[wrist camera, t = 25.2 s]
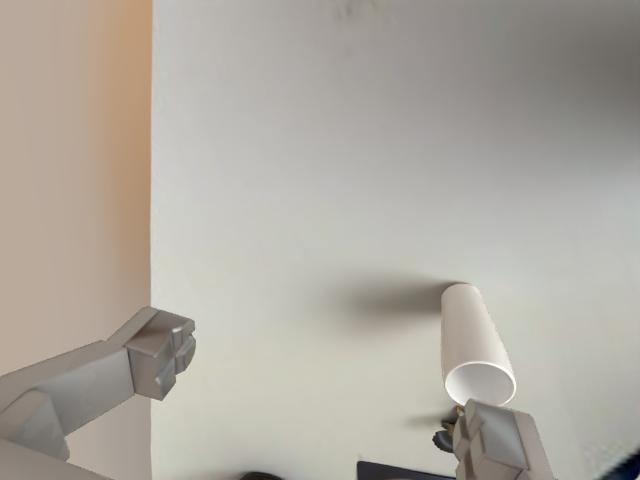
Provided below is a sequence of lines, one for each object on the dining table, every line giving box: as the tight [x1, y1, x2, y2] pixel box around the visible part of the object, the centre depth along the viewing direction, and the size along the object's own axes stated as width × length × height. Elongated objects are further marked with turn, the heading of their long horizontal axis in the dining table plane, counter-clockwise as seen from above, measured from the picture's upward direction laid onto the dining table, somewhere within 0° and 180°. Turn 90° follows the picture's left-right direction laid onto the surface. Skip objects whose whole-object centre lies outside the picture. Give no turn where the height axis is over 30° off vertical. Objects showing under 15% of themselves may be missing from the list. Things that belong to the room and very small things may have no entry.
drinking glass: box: [440, 283, 516, 406], centre depth 41 cm, size 7×7×15 cm
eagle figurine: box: [432, 406, 465, 453], centre depth 54 cm, size 8×7×9 cm
